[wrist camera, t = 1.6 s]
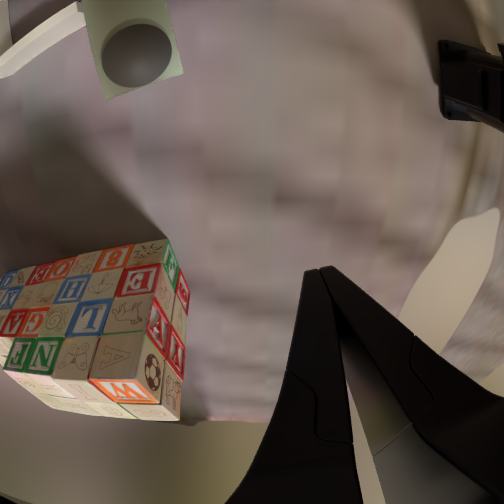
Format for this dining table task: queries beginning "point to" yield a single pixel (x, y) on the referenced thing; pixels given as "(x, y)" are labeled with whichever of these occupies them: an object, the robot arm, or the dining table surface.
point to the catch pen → (35, 36)
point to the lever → (131, 43)
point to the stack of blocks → (99, 331)
